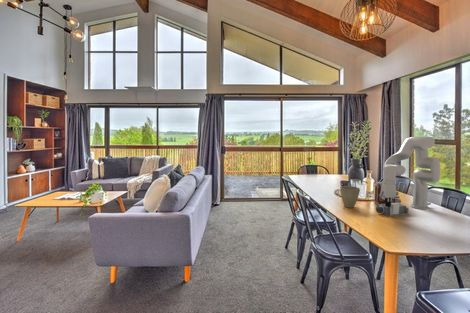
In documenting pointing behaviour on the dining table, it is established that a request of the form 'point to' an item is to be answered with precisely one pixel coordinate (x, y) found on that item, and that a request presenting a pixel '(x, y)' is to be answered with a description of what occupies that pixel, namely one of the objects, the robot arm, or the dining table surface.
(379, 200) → the dark red boxy piece
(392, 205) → the off-white foam block
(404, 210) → the housing
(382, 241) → the dining table surface
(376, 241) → the dining table surface
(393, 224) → the dining table surface
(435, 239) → the dining table surface
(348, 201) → the plant pot
